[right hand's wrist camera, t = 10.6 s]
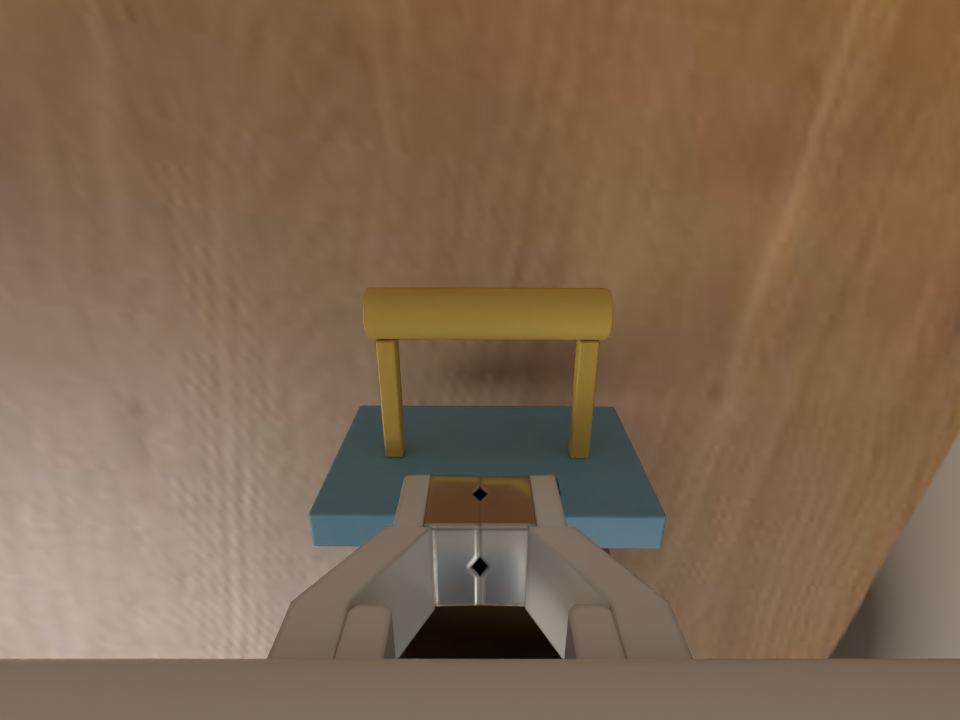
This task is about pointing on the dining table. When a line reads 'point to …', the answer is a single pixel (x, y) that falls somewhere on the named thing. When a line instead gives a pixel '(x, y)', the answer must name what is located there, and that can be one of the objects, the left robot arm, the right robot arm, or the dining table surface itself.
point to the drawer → (488, 446)
